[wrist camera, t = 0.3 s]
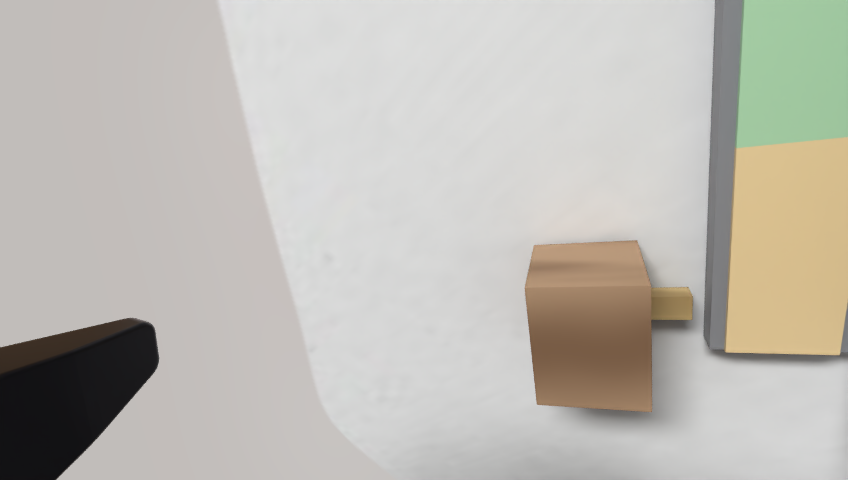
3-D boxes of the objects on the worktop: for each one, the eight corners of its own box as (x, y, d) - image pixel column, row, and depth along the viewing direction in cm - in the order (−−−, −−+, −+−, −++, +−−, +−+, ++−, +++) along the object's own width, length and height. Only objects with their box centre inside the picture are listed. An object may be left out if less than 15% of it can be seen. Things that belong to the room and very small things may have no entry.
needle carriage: (685, 349, 20) (709, 415, 16) (543, 346, 21) (536, 404, 18) (688, 238, 18) (715, 284, 14) (534, 245, 20) (524, 287, 16)
